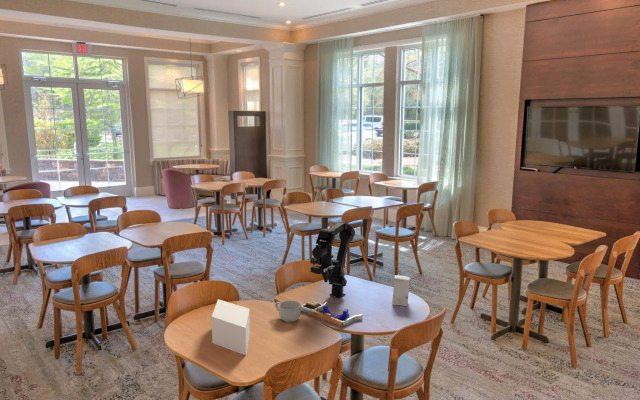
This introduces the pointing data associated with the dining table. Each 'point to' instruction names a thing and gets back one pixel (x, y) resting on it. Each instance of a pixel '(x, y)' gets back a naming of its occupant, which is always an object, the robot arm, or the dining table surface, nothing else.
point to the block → (231, 326)
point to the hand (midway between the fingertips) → (325, 282)
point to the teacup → (289, 310)
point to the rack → (315, 308)
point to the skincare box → (400, 290)
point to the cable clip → (339, 317)
